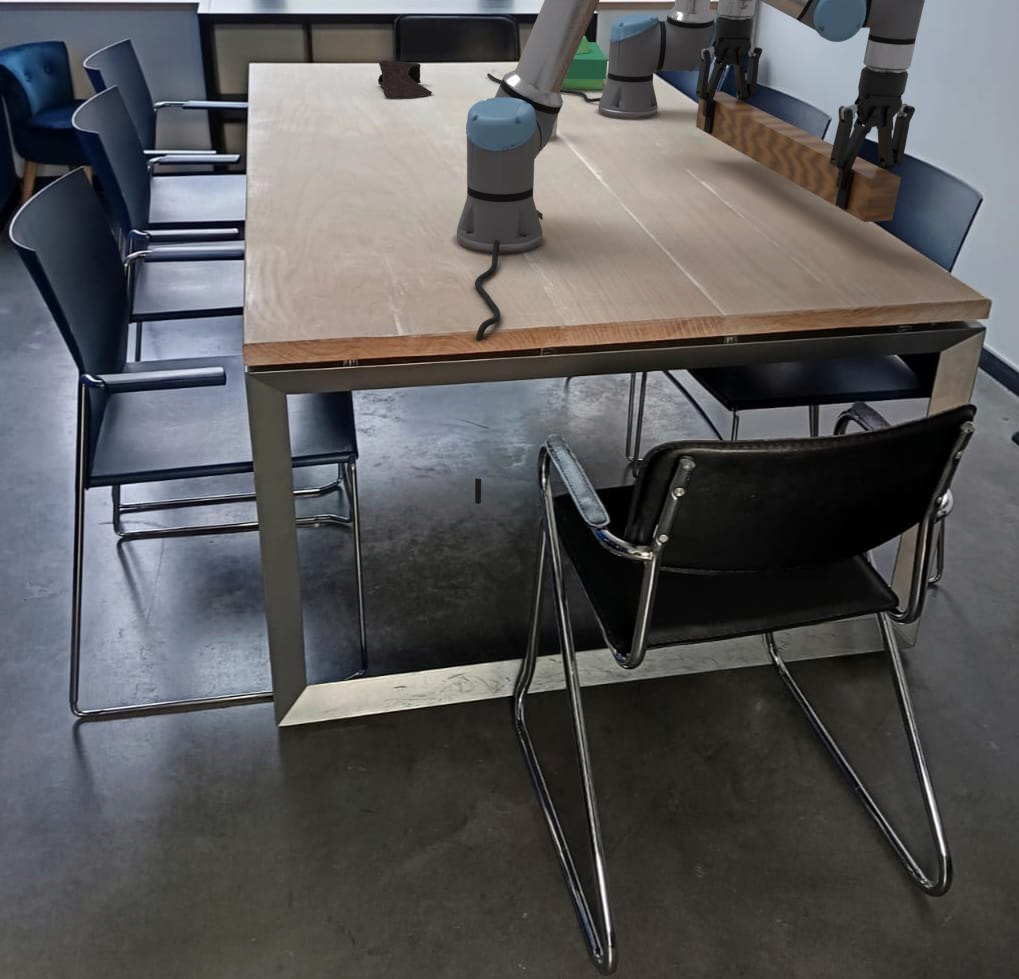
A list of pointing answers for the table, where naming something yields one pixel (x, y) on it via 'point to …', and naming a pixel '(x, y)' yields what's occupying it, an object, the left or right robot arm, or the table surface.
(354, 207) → the table surface
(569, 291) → the table surface
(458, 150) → the table surface
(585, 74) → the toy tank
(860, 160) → the post
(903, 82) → the left robot arm
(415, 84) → the axe head
